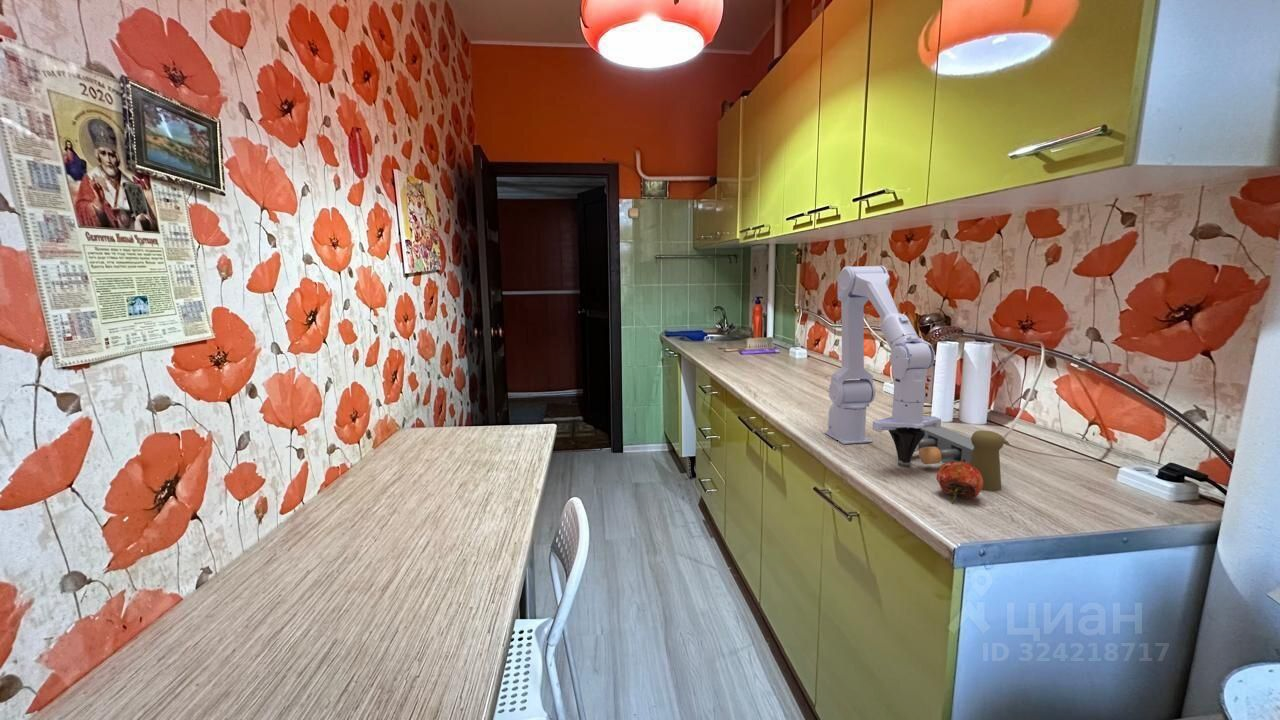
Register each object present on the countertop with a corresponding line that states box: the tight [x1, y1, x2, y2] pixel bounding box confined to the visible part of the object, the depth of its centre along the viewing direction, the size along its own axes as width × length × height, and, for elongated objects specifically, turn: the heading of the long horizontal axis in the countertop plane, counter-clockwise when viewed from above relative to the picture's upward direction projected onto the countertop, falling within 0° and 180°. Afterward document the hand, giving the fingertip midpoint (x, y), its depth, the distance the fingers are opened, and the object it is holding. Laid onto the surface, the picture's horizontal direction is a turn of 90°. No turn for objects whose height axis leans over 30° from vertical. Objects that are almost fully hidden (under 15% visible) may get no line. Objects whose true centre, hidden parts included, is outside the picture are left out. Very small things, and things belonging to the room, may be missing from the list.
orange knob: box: [918, 447, 962, 465], centre depth 106 cm, size 4×10×4 cm, turn 98°
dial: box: [897, 457, 913, 468], centre depth 109 cm, size 3×3×2 cm
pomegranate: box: [936, 460, 983, 505], centre depth 93 cm, size 7×7×10 cm
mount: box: [917, 426, 974, 464], centre depth 111 cm, size 16×6×6 cm, turn 9°
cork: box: [970, 429, 1005, 492], centre depth 97 cm, size 6×6×11 cm
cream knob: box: [914, 438, 938, 453], centre depth 113 cm, size 4×10×4 cm, turn 98°
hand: (904, 461), depth 105 cm, fingers closed
